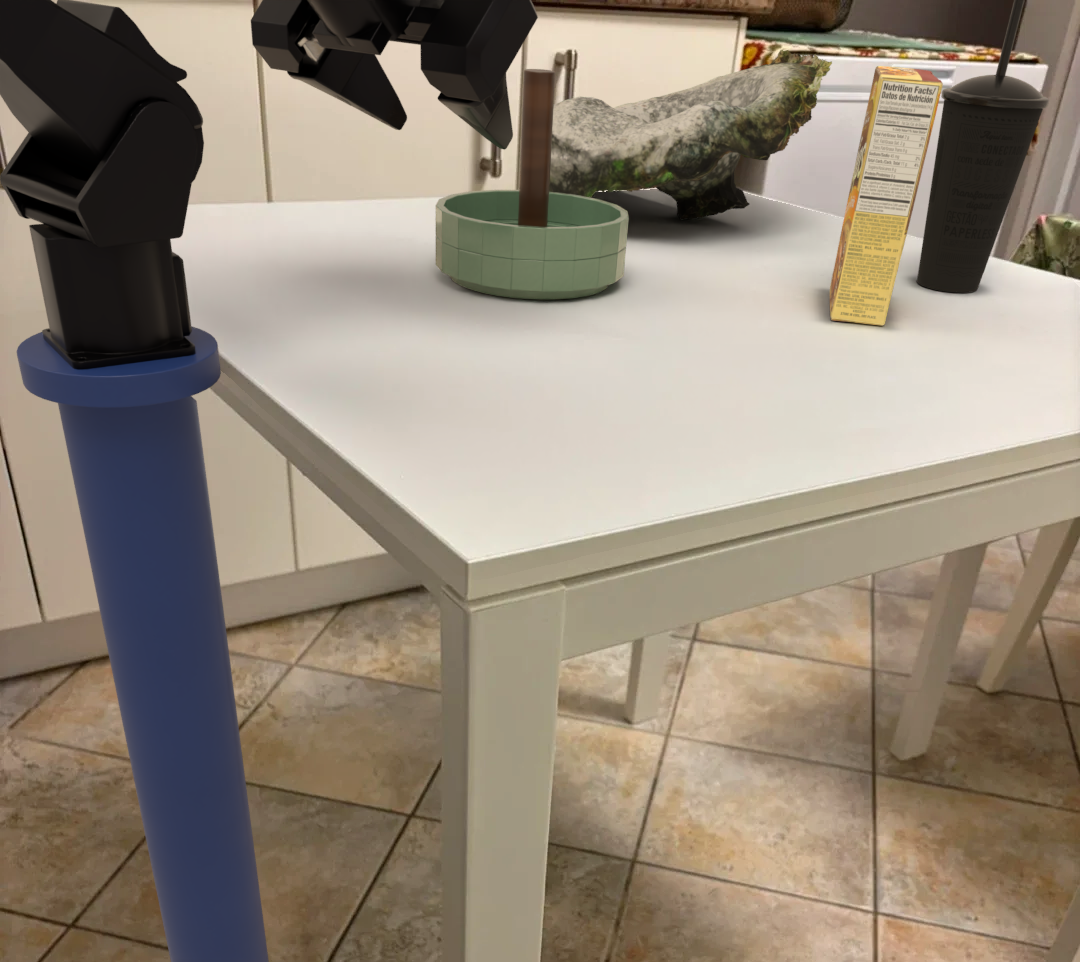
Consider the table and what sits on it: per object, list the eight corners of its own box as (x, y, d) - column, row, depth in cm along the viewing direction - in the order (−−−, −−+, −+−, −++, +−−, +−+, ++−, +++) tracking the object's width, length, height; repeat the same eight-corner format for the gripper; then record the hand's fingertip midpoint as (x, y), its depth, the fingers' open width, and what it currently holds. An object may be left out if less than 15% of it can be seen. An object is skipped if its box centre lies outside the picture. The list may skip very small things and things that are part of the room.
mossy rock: (910, 147, 101) (885, -36, 92) (667, 314, 95) (613, 136, 86) (708, 139, 123) (671, -10, 114) (499, 274, 117) (441, 129, 107)
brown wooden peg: (555, 275, 82) (567, 75, 75) (502, 271, 82) (508, 71, 75) (558, 263, 86) (569, 70, 78) (506, 259, 86) (513, 66, 78)
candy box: (827, 291, 86) (871, 64, 77) (882, 297, 85) (933, 68, 77) (828, 321, 79) (878, 74, 70) (889, 328, 78) (946, 79, 69)
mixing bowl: (502, 312, 76) (504, 235, 74) (402, 265, 86) (401, 195, 83) (659, 291, 83) (667, 220, 80) (552, 250, 93) (555, 185, 90)
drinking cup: (963, 302, 85) (1045, -6, 74) (880, 280, 90) (945, -14, 78) (1014, 290, 90) (1098, -4, 78) (932, 269, 94) (1000, -11, 83)
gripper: (524, -219, 54) (630, 42, 67) (272, -212, 63) (410, 18, 77) (412, -29, 53) (542, 196, 67) (174, -49, 62) (331, 153, 76)
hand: (453, 133), depth 71 cm, fingers open, 9 cm apart
